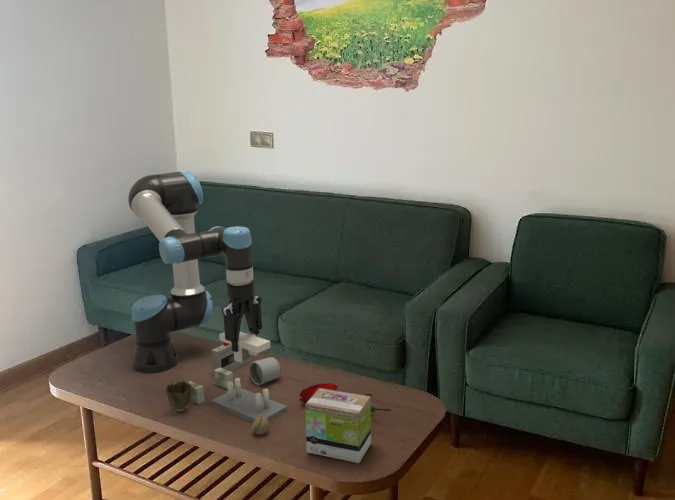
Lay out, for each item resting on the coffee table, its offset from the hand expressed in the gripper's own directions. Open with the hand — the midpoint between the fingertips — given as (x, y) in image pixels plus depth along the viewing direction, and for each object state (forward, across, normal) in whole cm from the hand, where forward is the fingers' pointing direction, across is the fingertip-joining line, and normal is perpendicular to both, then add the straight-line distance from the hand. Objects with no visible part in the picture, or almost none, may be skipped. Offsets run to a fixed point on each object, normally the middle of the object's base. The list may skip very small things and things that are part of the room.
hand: (245, 357), depth 203 cm
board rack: (+16, 0, +17) cm, 24 cm away
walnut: (+17, -8, -13) cm, 23 cm away
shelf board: (-4, 0, 0) cm, 4 cm away
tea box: (+17, -1, -36) cm, 40 cm away
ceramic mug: (+17, +16, +10) cm, 25 cm away
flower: (+17, +15, -25) cm, 33 cm away
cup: (+16, -13, +15) cm, 26 cm away
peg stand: (+16, 0, 0) cm, 16 cm away
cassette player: (+16, +17, +25) cm, 34 cm away
